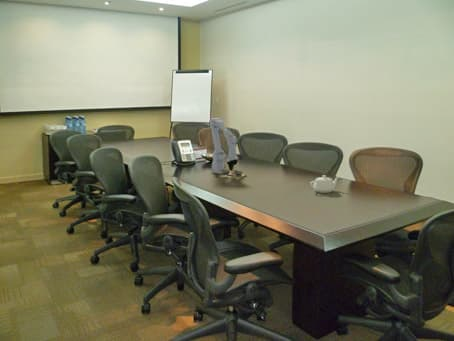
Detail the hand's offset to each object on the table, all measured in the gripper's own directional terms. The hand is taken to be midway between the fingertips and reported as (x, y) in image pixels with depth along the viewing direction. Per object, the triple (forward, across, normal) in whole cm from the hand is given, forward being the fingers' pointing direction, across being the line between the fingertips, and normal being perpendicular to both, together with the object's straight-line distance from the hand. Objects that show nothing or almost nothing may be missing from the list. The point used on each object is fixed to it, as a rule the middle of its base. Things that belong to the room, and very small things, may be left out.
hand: (232, 169), depth 312 cm
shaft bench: (+5, 0, 0) cm, 5 cm away
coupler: (+2, 0, 0) cm, 2 cm away
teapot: (+6, -10, -76) cm, 76 cm away
